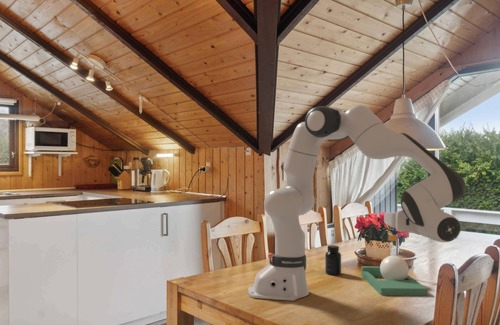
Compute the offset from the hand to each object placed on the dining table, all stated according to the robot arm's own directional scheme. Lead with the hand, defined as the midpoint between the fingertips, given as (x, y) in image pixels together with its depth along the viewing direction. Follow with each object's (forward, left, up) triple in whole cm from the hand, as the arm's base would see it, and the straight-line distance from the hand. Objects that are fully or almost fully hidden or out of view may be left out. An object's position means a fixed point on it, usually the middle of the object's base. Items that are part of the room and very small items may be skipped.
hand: (407, 215), depth 143 cm
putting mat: (+2, +20, -30) cm, 36 cm away
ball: (+4, +22, -24) cm, 33 cm away
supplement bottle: (-18, +36, -30) cm, 50 cm away
